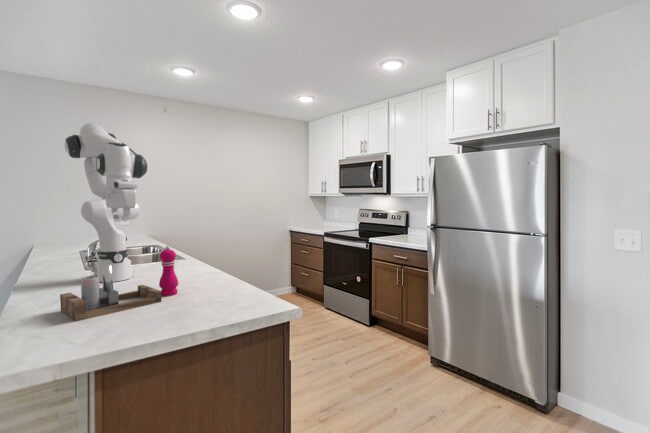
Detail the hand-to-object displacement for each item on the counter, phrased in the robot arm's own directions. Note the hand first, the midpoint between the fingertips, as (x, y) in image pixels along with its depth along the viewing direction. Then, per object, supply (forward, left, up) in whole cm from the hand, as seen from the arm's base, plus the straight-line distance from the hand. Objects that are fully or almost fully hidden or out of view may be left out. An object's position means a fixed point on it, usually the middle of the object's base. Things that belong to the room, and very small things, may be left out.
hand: (120, 219), depth 141 cm
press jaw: (+9, -8, -31) cm, 33 cm away
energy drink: (+9, -14, -31) cm, 35 cm away
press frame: (+9, -7, -31) cm, 33 cm away
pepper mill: (+9, +14, -31) cm, 36 cm away
